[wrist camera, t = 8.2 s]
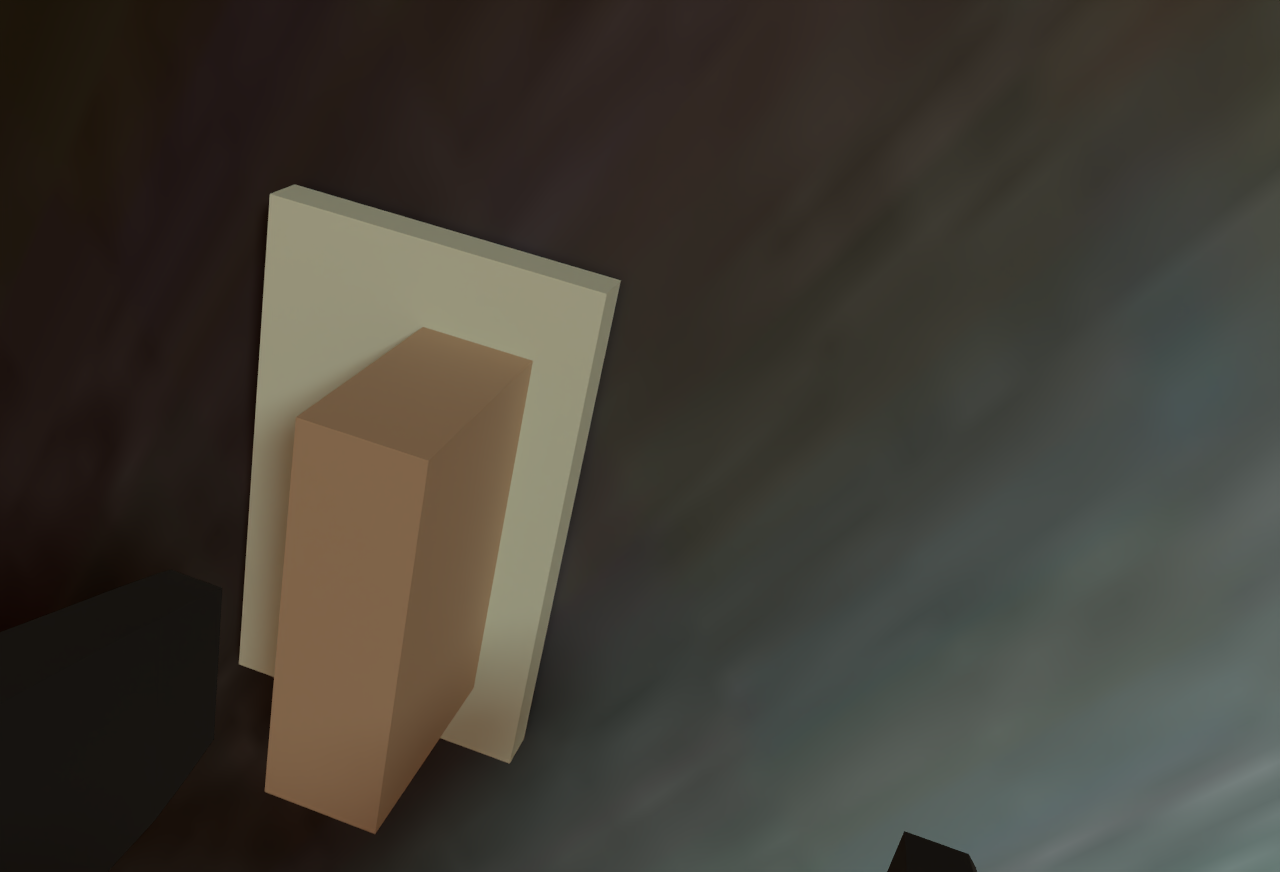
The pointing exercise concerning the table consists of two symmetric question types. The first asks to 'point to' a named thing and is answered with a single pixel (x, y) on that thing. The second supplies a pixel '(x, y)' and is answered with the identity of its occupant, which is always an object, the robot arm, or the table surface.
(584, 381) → the stub
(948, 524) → the table surface
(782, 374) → the table surface
